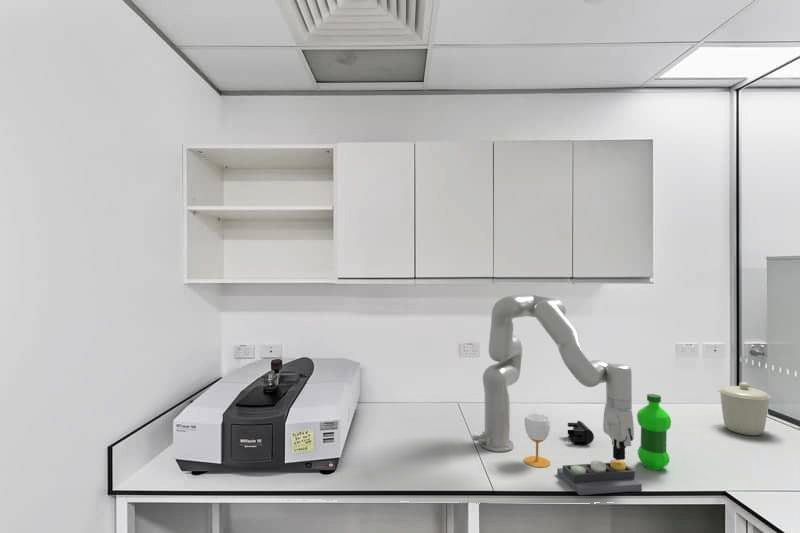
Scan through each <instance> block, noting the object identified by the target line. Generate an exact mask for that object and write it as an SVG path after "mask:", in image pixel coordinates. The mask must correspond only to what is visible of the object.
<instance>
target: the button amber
mask: <svg viewBox="0 0 800 533" xmlns="http://www.w3.org/2000/svg"><path fill="white" fill-rule="evenodd" d="M609 463H610V468H612V469H613V470H614V471H626V466H627V464H626V462H625V461H624V460H616V459H610V461H609Z"/></svg>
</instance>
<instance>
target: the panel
mask: <svg viewBox="0 0 800 533" xmlns="http://www.w3.org/2000/svg"><path fill="white" fill-rule="evenodd" d="M604 463H605V464H606V472H597V473H595V472H594V471H593V470H591V463H582V464H577V465H578V466H582V467H584V468H585V469H586V473H582V474H574V473H573V472H572V471H571V466H573V465H574V464H567V465H565V464H564V465H562V467H560V468H559V467H558V468H556V469H557V471H556V473H557V474H556V475H557V476H558V477H559V478H561V479H562V480H563V481H564V482H565V483H566V484H567V485H568V486H569V487H570V488H571V489H572V490H574V491H575V492H576V493H577V494H578V495H579V496H587V495H598V494H613V493H625V492H626V493H627V492H638V491H639V492H640V491H641V492H642V490H643V488H642V486H643V484H642V482H640V481H638V480H637V479H635V477H636V476H635V474H636V473H635V470H633V469H632V468H630V467H629V466H628V465H626V471H614V470H613V469H612V468H610V462H604Z"/></svg>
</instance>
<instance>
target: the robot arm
mask: <svg viewBox="0 0 800 533" xmlns="http://www.w3.org/2000/svg"><path fill="white" fill-rule="evenodd" d="M566 311H567V310H566V307H565V304H564V303H563V302H562V301H561V300H559V299H557V298H551V297H545V296H540V295H534V294H515V295H508V296H504V297H503V298H500V299H499V300H498V301H497V300H496V302H495V304H494V305H493V308H492V309H491V320H490V330H489V331H490V332H489V341H488V354H489V357H490V359H492V360H493V361H494V362H498V363H495V364H491V365H489V366H488V367H487V368H485V370H484V372H483V374H482V384H483V391H484V431H482V432H481V433H482V434H480V435H472V436H471V437H472V441H473V442H474V441H477V443H479V445H480V446H481V448H483V449H485V450H488V451H491V452H497V453H498V452H500V453H502V452H504V453H505V452H509V451H512V450H513V448H514V442H513V441H512V440H510V428H511V427H510V426H511V425H510V423H511V422H510V421H511V420H510V417H511V415H510V414H511V409H510V407H511V405H510V404H511V402H510V400H511V399H510V395H509V390H508V387H509V386H512V385H514V384H515V383H517V382H518V380H519V378H520V374H521V368H522V366H521V365H522V357H523V346H522V345H523V344H522V342H521V341H520V339H519V338H518V337H517V336H516V335H514V334H513V333H514V322H513V319H517V318H524V317H532V318H536V320H537V322H538V323H539V325H541V327H542V328H543V329H544V330H545V332H546V334H548V335H549V337H551V339H552V340H553V342H554V343H555V345H556V346H557V348H558V352H559V355H560V356H561V359H562V362H563V363H564V365H565V367H566V368H567V369H568V370H569V372H570V373H571V375H573V377H574V378H575V379H576V381H578V382H579V383H580V384H581V385H582V386H584V387H586V388H594V387H597V386H598V385H599V384H603V383H605V385H606V386H605V392H606V393H605V399H606V402H605V406H604V411H603V420H602V423H603V424H602V430H603V432H604V433H605V435H608V436H609V437H610V439H611V444H612V459H613V460H621V461H624V460H625V459H626V448H627V447H632V441H633V440H634V438H635V430H634V429H635V428H634V416H633V411H632V410H633V409H632V406H633V403H632V401H633V398H632V395H633V394H632V393H633V392H632V391H633V390H632V383H633V382H632V379H633V378H632V374H633V372H632V368H631V367H630V366H629V365H626V364H624V363H611V362H606V361H603V360H598V359H595V360H589V359H588V358H587V356H586V354H584V352H583V351H582V349H581V346H580V343H579V332H578V330H577V329H576V328H575V326H574V325H573V324H572V323H571V321H570V320H569V319H568V318H567V317H566V316H565V315H566Z"/></svg>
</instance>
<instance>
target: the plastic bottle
mask: <svg viewBox="0 0 800 533" xmlns="http://www.w3.org/2000/svg"><path fill="white" fill-rule="evenodd" d="M646 400H647V402H648V404H647V405H645V406H643V407H642V408H640V409H638V411H637V414H636V419H637V422H638V426H640V446H639V447H638V449H637V456H638V459H639V460H640V462H641V463H642V464H643V466H646V467H645V468H647V469H649V470H654V471H660V470H662V469H663V468H665V467H666V466H668V465H669V462H670V456H669V453H668V451H667V432H668V430H669V429H670V428H671V424H672V420H671V417H670V415H669V414H668V412H666V411H665V410H664V408H662V407H661V406H660V403H661V401H662V397H661V395H659V394H655V393H649V394H646Z"/></svg>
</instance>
